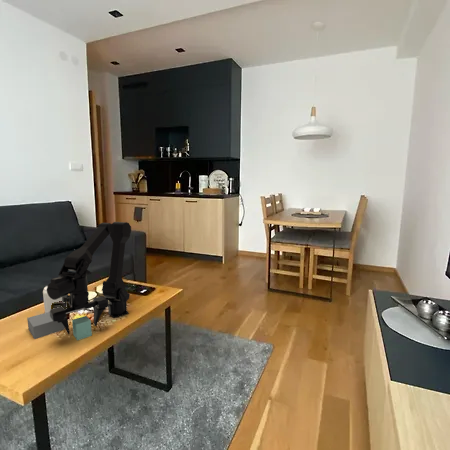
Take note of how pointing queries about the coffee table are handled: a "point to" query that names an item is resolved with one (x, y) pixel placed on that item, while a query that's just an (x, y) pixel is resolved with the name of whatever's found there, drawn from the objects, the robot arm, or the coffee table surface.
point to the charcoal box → (43, 325)
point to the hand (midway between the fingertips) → (82, 329)
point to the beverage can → (48, 300)
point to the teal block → (81, 327)
